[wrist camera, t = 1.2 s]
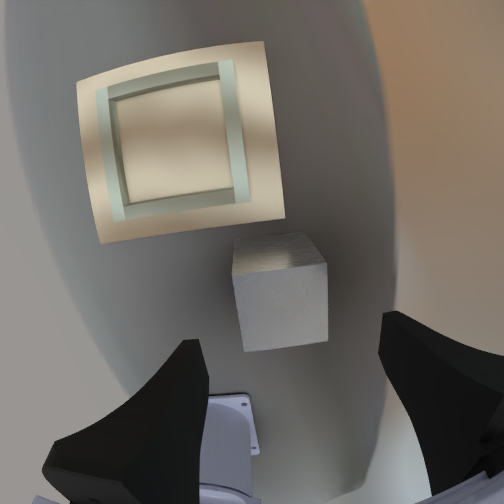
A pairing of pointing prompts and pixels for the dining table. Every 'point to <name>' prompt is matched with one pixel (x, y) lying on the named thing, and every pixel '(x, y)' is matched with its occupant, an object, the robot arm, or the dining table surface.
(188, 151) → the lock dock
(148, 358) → the dining table surface
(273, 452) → the dining table surface
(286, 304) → the block
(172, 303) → the dining table surface
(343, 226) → the dining table surface
